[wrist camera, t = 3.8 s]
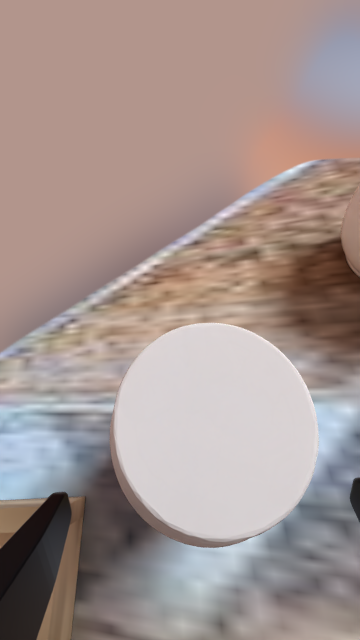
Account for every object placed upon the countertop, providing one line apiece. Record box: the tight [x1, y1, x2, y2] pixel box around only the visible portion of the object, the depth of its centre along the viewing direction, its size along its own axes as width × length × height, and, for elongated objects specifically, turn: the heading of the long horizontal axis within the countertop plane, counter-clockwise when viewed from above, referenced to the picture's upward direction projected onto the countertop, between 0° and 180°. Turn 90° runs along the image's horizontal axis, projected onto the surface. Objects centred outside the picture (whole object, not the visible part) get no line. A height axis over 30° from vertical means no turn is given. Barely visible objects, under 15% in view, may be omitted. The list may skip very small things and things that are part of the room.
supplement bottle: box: [110, 323, 319, 548], centre depth 12 cm, size 7×7×13 cm
